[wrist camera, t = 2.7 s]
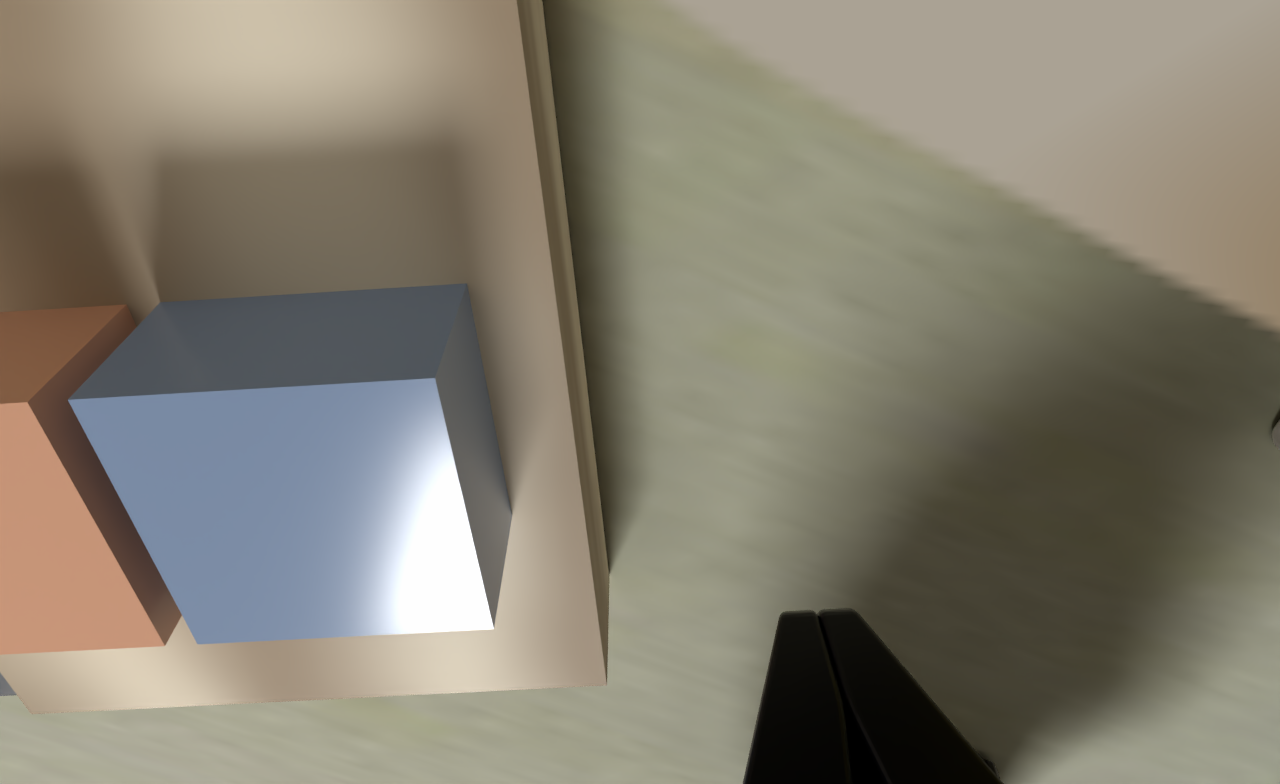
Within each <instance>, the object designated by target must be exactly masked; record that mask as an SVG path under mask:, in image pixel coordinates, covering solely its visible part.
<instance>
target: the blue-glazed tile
mask: <svg viewBox="0 0 1280 784" xmlns="http://www.w3.org/2000/svg"><path fill="white" fill-rule="evenodd" d="M68 401H69V403H70V405H71V407H72V409H73V411H74V413H75V415H76V416H77V418H78V420H79V422H80V424H81V426H82V428H83V430H84V432H85V433H86V435H87V437H88V439H89V441H90V443H91V445H92V447H93V448H94V450H95V452H96V454H97V456H98V458H99V460H100V462H101V464H102V465H103V467H104V469H105V471H106V473H107V475H108V477H109V479H110V481H111V482H112V484H113V486H114V488H115V490H116V492H117V494H118V496H119V497H120V499H121V501H122V503H123V505H124V507H125V509H126V511H127V513H128V514H129V516H130V518H131V520H132V522H133V524H134V526H135V528H136V529H137V531H138V533H139V535H140V537H141V539H142V541H143V543H144V545H145V546H146V548H147V550H148V552H149V554H150V556H151V558H152V560H153V561H154V563H155V565H156V567H157V569H158V571H159V573H160V575H161V577H162V578H163V580H164V582H165V584H166V586H167V588H168V590H169V592H170V593H171V595H172V597H173V599H174V601H175V603H176V605H177V607H178V609H179V610H180V612H181V614H182V616H183V618H184V620H185V622H186V624H187V625H188V627H189V629H190V631H191V633H192V635H193V637H194V639H195V641H196V642H197V644H217V643H236V642H255V641H275V640H294V639H313V638H333V637H352V636H371V635H390V634H410V633H429V632H448V631H468V630H487V629H494V625H495V619H496V613H497V607H498V601H499V594H500V588H501V582H502V576H503V570H504V564H505V558H506V551H507V545H508V539H509V533H510V527H511V521H512V511H511V506H510V501H509V496H508V491H507V486H506V480H505V475H504V470H503V465H502V460H501V455H500V450H499V445H498V439H497V434H496V429H495V424H494V419H493V414H492V409H491V404H490V398H489V393H488V388H487V383H486V378H485V373H484V368H483V363H482V357H481V352H480V347H479V342H478V337H477V332H476V327H475V322H474V316H473V311H472V306H471V301H470V296H469V291H468V286H467V283H465V284H448V285H432V286H416V287H400V288H384V289H367V290H351V291H335V292H319V293H303V294H287V295H270V296H254V297H238V298H222V299H206V300H190V301H173V302H160V303H159V304H158V305H157V306H156V307H155V308H154V309H153V311H152V312H151V313H150V314H149V315H148V316H147V317H146V318H145V319H144V320H143V321H142V322H141V323H140V324H139V325H138V326H137V327H136V328H135V329H134V331H133V332H132V333H131V334H130V335H129V336H128V337H127V338H126V339H125V340H124V341H123V342H122V343H121V344H120V345H119V346H118V347H117V348H116V349H115V351H114V352H113V353H112V354H111V355H110V356H109V357H108V358H107V359H106V360H105V361H104V362H103V363H102V364H101V365H100V366H99V367H98V368H97V369H96V371H95V372H94V373H93V374H92V375H91V376H90V377H89V378H88V379H87V380H86V381H85V382H84V383H83V384H82V385H81V386H80V387H79V388H78V389H77V391H76V392H75V393H74V394H73V395H72V396H71V397H70V398H69V399H68Z"/></svg>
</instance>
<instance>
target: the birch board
mask: <svg viewBox="0 0 1280 784" xmlns="http://www.w3.org/2000/svg"><path fill="white" fill-rule="evenodd" d="M465 283H467V286H468V291H469V296H470V301H471V306H472V311H473V316H474V322H475V327H476V332H477V337H478V342H479V347H480V352H481V357H482V363H483V368H484V373H485V378H486V383H487V388H488V393H489V398H490V404H491V409H492V414H493V419H494V424H495V429H496V434H497V439H498V445H499V450H500V455H501V460H502V465H503V470H504V475H505V480H506V486H507V491H508V496H509V501H510V506H511V511H512V521H511V527H510V533H509V539H508V545H507V551H506V558H505V564H504V570H503V576H502V582H501V588H500V594H499V601H498V607H497V613H496V619H495V625H494V629H487V630H468V631H448V632H429V633H410V634H390V635H371V636H352V637H333V638H313V639H294V640H275V641H255V642H236V643H217V644H197V642H196V641H195V639H194V637H193V635H192V633H191V631H190V629H189V627H188V625H187V624H186V622H185V620H184V618H183V616H181V618H180V620H179V622H178V624H177V625H176V627H175V629H174V631H173V633H172V634H171V636H170V638H169V640H168V642H167V643H166V645H165V646H159V647H140V648H121V649H101V650H82V651H63V652H43V653H24V654H5V655H0V673H1V674H2V675H3V677H4V678H5V679H6V681H7V682H8V683H9V685H10V686H11V688H12V689H13V690H14V692H15V693H16V694H17V696H18V697H19V698H20V700H21V701H22V702H23V704H24V705H25V706H26V708H27V709H28V710H29V712H30V713H31V714H44V713H64V712H84V711H104V710H124V709H144V708H164V707H184V706H204V705H223V704H243V703H263V702H283V701H303V700H323V699H343V698H363V697H383V696H403V695H423V694H443V693H463V692H483V691H503V690H523V689H543V688H563V687H583V686H603V685H607V659H608V616H609V569H608V561H607V552H606V543H605V535H604V526H603V518H602V509H601V500H600V492H599V483H598V474H597V466H596V457H595V449H594V440H593V431H592V423H591V414H590V406H589V397H588V388H587V380H586V371H585V363H584V354H583V345H582V337H581V328H580V320H579V311H578V302H577V294H576V285H575V277H574V268H573V259H572V251H571V242H570V234H569V225H568V216H567V208H566V199H565V191H564V182H563V173H562V165H561V156H560V148H559V139H558V130H557V122H556V113H555V105H554V96H553V87H552V79H551V70H550V62H549V53H548V44H547V36H546V27H545V18H544V10H543V1H542V0H0V312H12V311H28V310H44V309H60V308H76V307H92V306H109V305H125V304H127V307H128V309H129V311H130V313H131V315H132V318H133V320H134V322H135V324H136V327H137V326H138V325H139V324H140V323H141V322H142V321H143V320H144V319H145V318H146V317H147V316H148V315H149V314H150V313H151V312H152V311H153V309H154V308H155V307H156V306H157V305H158V304H159V303H160V302H173V301H190V300H206V299H222V298H238V297H254V296H270V295H287V294H303V293H319V292H335V291H351V290H367V289H384V288H400V287H416V286H432V285H448V284H465Z"/></svg>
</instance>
